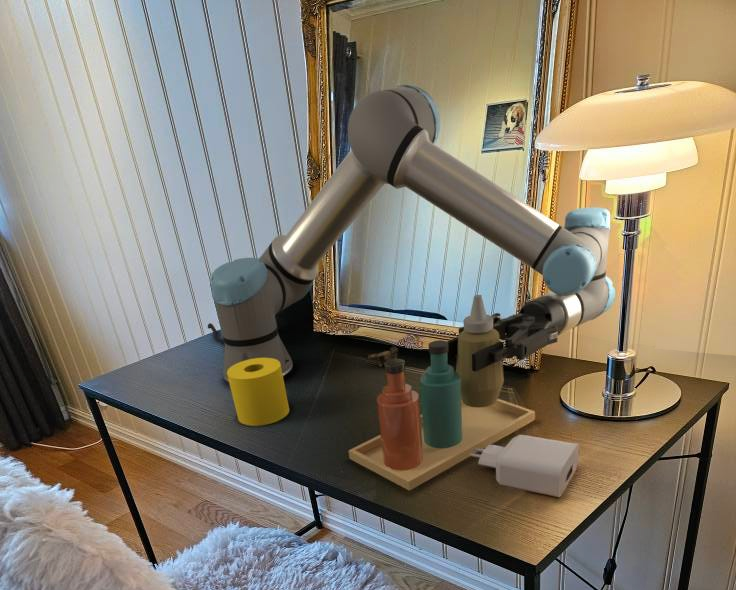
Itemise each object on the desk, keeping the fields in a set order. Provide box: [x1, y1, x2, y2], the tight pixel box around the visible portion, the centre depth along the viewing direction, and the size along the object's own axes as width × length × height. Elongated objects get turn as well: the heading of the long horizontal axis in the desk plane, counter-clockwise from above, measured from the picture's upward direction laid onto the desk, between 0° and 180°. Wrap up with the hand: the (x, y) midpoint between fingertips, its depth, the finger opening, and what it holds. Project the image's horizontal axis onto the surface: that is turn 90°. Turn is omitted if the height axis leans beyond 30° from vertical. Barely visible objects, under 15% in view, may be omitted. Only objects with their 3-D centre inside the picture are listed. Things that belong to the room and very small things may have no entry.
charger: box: [470, 434, 580, 498], centre depth 97 cm, size 5×9×15 cm
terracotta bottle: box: [376, 358, 423, 470], centre depth 100 cm, size 6×6×17 cm
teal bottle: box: [419, 339, 462, 448], centre depth 104 cm, size 6×6×17 cm
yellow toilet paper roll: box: [227, 358, 290, 427], centre depth 124 cm, size 10×10×9 cm
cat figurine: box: [366, 345, 399, 368], centre depth 139 cm, size 3×8×4 cm, turn 60°
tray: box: [348, 398, 536, 491], centre depth 109 cm, size 15×29×2 cm, turn 129°
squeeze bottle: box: [455, 294, 505, 408], centre depth 106 cm, size 8×8×18 cm
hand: (457, 357), depth 104 cm, fingers closed on squeeze bottle, 6 cm apart
